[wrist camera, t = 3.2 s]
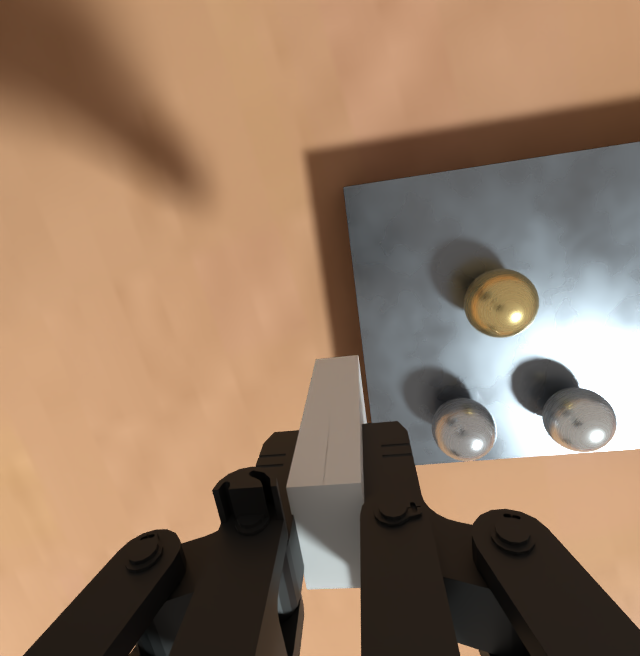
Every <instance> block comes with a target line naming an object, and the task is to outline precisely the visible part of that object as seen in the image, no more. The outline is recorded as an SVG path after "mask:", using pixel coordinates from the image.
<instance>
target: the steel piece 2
mask: <svg viewBox="0 0 640 656" xmlns="http://www.w3.org/2000/svg"><path fill="white" fill-rule="evenodd" d="M542 421H543V425H544V427H545V430H546V432H547V433H548V435H549V436H550V437H551V438H552V439H553V440H554V441H555V442H556V443H557V444H559V445H560V446H562V447H564V448H566V449H568V450H572V451H576V452H592V451H596V450H599V449H601V448H603V447H605V446H606V445H607V444H608V443H609V442H610V441H611V440H612V439H613V437H614V435H615V433H616V429H617V418H616V414H615V411H614V409H613V408H612V406H611V405H610V403H609V402H608V401H607V400H606V399H605V398H604V397H602V396H601V395H599V394H598V393H596V392H594V391H592V390H589V389H585V388H579V387H571V388H566V389H562V390H560V391H558V392H556V393H554V394H553V395H552V396H551V397H550V398H549V399H548V400H547V401H546V403H545V405H544V407H543V412H542Z"/></svg>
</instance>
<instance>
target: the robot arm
mask: <svg viewBox="0 0 640 656" xmlns="http://www.w3.org/2000/svg"><path fill="white" fill-rule="evenodd" d="M212 491H213V495H214V498H215V502H216V506H217V509H218V513H219V517H220V520H221V525H220V528H219V530H218V531H216V532H214V533H212V534H210V535H207V536H204V537H201V538H198V539H195V540H192V541H189V542H185V543H182V544H181V542H180V539H179V538H178V536H177V534H176V533H174V532H172V531H170V530H167V529H162V530H153V531H150V532H146V533H143V534H141V535H139V536H138V537H136V538H134V539H132V540H131V541H129V542H128V543H127V544H126V545H125V546H123V547H122V548H121V549H120V550H119V551H118V552H117V553H116V554H115V555H114V556H113V557H112V559H111V560H110V561H109V562H108V563H107V564H106V565H105V566H104V567H103V568H102V570H101V571H100V572H99V573H98V574H97V575H96V576H95V577H94V578H93V579H92V581H91V582H90V583H89V584H88V585H87V586H86V587H85V588H84V589H83V590H82V591H81V593H80V594H79V595H78V596H77V597H76V598H75V599H74V600H73V601H72V602H71V604H70V605H69V606H68V607H67V608H66V609H65V610H64V611H63V612H62V613H61V614H60V616H59V617H58V618H57V619H56V620H55V621H54V622H53V623H52V624H51V625H50V627H49V628H48V629H47V630H46V631H45V632H44V633H43V634H42V635H41V636H40V637H39V639H38V640H37V641H36V642H35V643H34V644H33V645H32V646H31V647H30V648H29V650H28V651H27V652H26V653H25V654H24V655H23V656H299V655H300V647H301V638H302V629H303V621H304V606H303V600H302V595H301V589H302V581H303V574H304V578H305V582H306V587H307V589H334V588H361V656H460V652H459V648H458V643H460V644H463V645H466V646H470V647H473V648H476V649H479V652H480V655H481V656H640V629H639V628H638V627H637V626H636V625H635V624H634V623H633V622H632V621H631V620H630V618H629V617H628V616H627V615H626V614H625V613H624V612H623V611H622V610H621V609H620V607H619V606H618V605H617V604H616V603H615V602H614V601H613V600H612V599H611V598H610V596H609V595H608V594H607V593H606V592H605V591H604V590H603V589H602V588H601V587H600V585H599V584H598V583H597V582H596V581H595V580H594V579H593V578H592V577H591V576H590V574H589V573H588V572H587V571H586V570H585V569H584V568H583V567H582V566H581V565H580V563H579V562H578V561H577V560H576V559H575V558H574V557H573V556H572V555H571V554H570V552H569V551H568V550H567V549H566V548H565V547H564V546H563V545H562V544H561V543H560V541H559V540H558V539H557V538H556V537H555V536H554V535H553V534H552V533H551V532H550V530H549V529H548V528H547V527H545V526H544V525H543V524H542V523H540V522H539V521H538V520H537V519H536V518H533V517H531V516H529V515H527V514H525V513H522V512H519V511H514V510H508V509H499V510H490V511H488V512H486V513H484V514H481V515H480V516H479V517H478V518H477V519H476V521H475V522H474V523H473V525H470V524H466V523H461V522H456V521H453V520H449V519H446V518H444V517H442V516H440V515H438V514H436V513H435V512H434V511H433V510H431V509H430V508H429V507H428V506H427V504H426V503H425V502H424V500H423V497H422V495H421V490H420V486H419V481H418V477H417V472H416V467H415V463H414V458H413V454H412V449H411V445H410V440H409V435H408V431H407V430H406V429H405V428H404V427H403V426H402V425H401V424H400V423H399V422H398V421H391V422H379V423H367V420H366V412H365V404H364V396H363V388H362V380H361V372H360V364H359V356H358V355H352V356H343V357H333V358H323V359H316V361H315V365H314V369H313V374H312V378H311V382H310V387H309V391H308V395H307V400H306V404H305V408H304V412H303V417H302V421H301V425H300V430H297V431H284V432H274V433H273V434H272V435H271V436H270V437H269V438H268V439H267V440H266V442H265V443H264V444H263V447H262V449H261V452H260V455H259V458H258V460H257V463H256V467H248V468H243V469H239V470H237V471H235V472H232V473H230V474H228V475H227V476H225V477H224V478H223V479H221V480H220V481H219V482H218V483H217V484H216V486H215V487H214V489H213V490H212ZM135 645H136V646H135ZM134 646H135V648H134ZM133 648H134V649H133ZM132 649H133V651H132V652H131V650H132ZM130 652H131V653H130ZM129 653H130V654H129Z"/></svg>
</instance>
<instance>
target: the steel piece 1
mask: <svg viewBox="0 0 640 656" xmlns="http://www.w3.org/2000/svg"><path fill="white" fill-rule="evenodd" d="M432 435H433V438H434V440H435V442H436V444H437V446H438V447H439V448H440V449H441V450H442V451H443V452H444V453H445V454H446V455H448V456H449V457H451V458H454V459H456V460H461V461H473V460H477V459H479V458H481V457H483V456H485V455H486V454H487V453H488V452H489V451H490V450H491V449H492V447H493V445H494V443H495V440H496V436H497V428H496V423H495V420H494V418H493V416H492V414H491V413H490V412H489V410H488V409H487V408H486V407H485V406H483V405H482V404H481V403H479V402H477V401H475V400H472V399H469V398H454V399H451V400H448V401H446V402H445V403H443V404H442V405H441V406H440V407H439V408H438V409H437V411H436V412H435V414H434V416H433V419H432Z"/></svg>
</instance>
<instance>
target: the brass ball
mask: <svg viewBox="0 0 640 656" xmlns="http://www.w3.org/2000/svg"><path fill="white" fill-rule="evenodd" d="M538 309H539V296H538V292H537V290H536V288H535V286H534V284H533V283H532V282H531V281H530V280H529V279H528V278H527V277H526V276H524V275H523V274H521V273H519V272H517V271H514V270H510V269H495V270H491V271H488V272H485V273H483V274H482V275H480V276H478V277H477V278H476V279H475V280H474V281H473V282H472V283H471V284H470V286H469V287H468V289H467V291H466V294H465V297H464V311H465V315H466V317H467V319H468V321H469V322H470V324H471V325H472V326H473V327H474V328H475V329H476V330H477V331H479V332H480V333H482V334H484V335H487V336H490V337H495V338H506V337H511V336H514V335H517V334H519V333H521V332H523V331H524V330H525V329H527V328H528V327H529V326H530V325H531V324H532V322H533V321H534V319H535V317H536V315H537V313H538Z"/></svg>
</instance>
